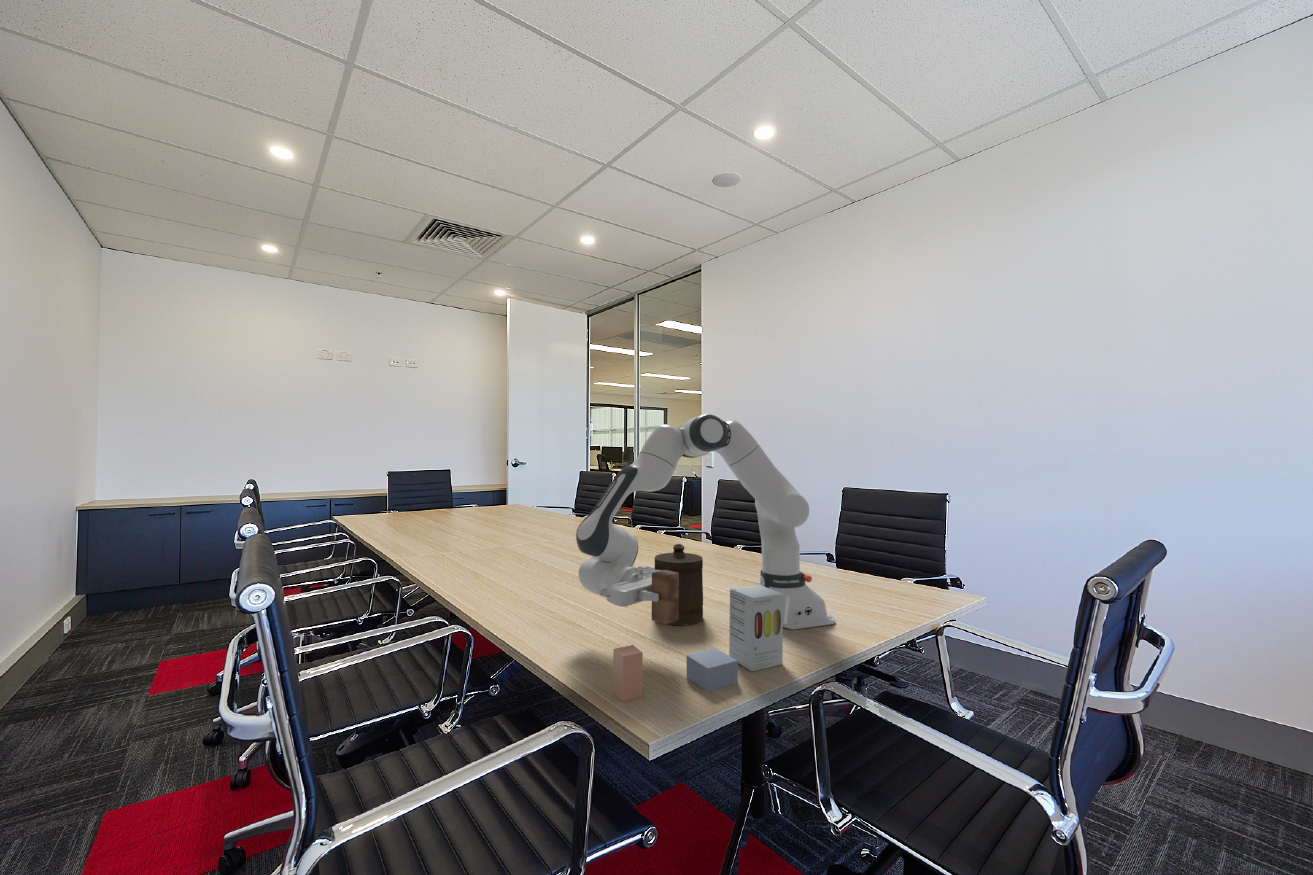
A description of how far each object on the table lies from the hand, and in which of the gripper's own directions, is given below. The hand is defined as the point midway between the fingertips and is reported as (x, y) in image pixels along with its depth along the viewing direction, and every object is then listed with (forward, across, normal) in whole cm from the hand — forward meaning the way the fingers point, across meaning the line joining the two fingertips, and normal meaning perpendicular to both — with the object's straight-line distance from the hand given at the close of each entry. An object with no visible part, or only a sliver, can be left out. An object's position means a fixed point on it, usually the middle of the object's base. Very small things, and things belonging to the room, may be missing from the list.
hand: (668, 594), depth 121 cm
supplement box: (+13, +16, +17) cm, 27 cm away
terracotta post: (+3, -16, +16) cm, 23 cm away
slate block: (+12, +1, +17) cm, 20 cm away
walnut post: (-1, 0, +6) cm, 6 cm away
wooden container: (-21, +28, +17) cm, 39 cm away
